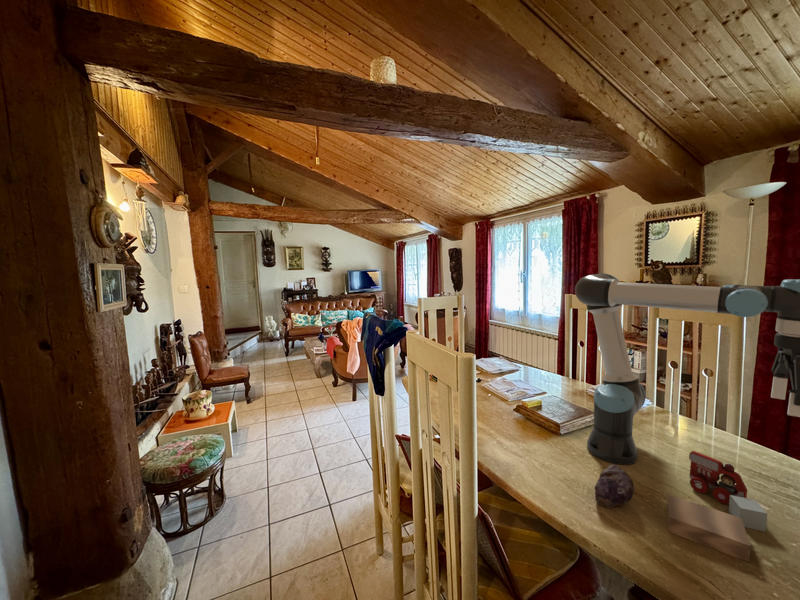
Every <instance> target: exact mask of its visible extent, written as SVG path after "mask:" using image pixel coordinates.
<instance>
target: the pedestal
mask: <svg viewBox="0 0 800 600" xmlns="http://www.w3.org/2000/svg"><path fill="white" fill-rule="evenodd" d="M666 506H667V507H666V512H667V514H666V515H667V529H668V530H667V532H668V533H671V534H673V535H676V536H680V537H682V538H684V539H687V540H690V541H692V542H695V543H698V544H701V545H703V546H705V547H707V548H711V549H714V550H717V551H718V552H722V553H724V554H727V555H728V556H729V555H730V556H732V557H734V558H737V559H740V560H742V561H744V562H748V563H750V557H751V555H750V554H751V544H750V543H751V542H750V540H749V537H748V535H747V531H746V527H744V525H743V521H742V518H740V517H737V516H734V515H731V514H730V513H728V512H723V511H721V510H718V509H715V508H712V507H708V506H705V505H703V504H702V505H701V504H699V503H697V502H693V501H690V500H687V499H684V498H680V497H677V496H674V495H672V494H667V504H666Z"/></svg>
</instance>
